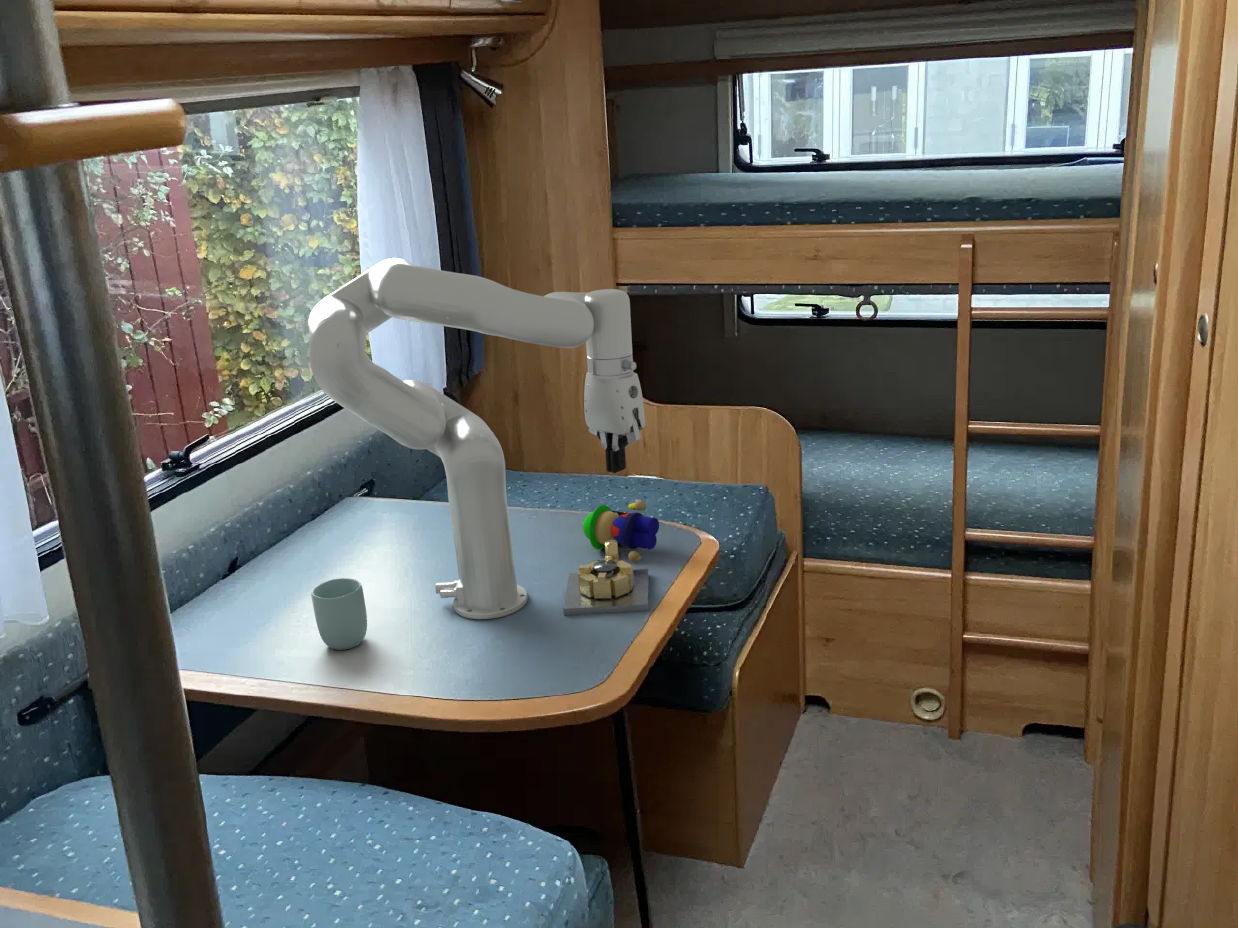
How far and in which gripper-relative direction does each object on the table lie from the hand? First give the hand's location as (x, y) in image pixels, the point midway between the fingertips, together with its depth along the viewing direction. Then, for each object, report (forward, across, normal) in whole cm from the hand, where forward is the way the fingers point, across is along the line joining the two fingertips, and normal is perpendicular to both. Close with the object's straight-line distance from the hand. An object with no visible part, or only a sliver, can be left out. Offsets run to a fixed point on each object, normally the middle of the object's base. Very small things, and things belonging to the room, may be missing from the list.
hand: (616, 470), depth 191 cm
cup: (+22, +22, +43) cm, 53 cm away
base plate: (+20, -2, +6) cm, 21 cm away
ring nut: (+19, -1, +5) cm, 19 cm away
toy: (+20, +8, -9) cm, 24 cm away
